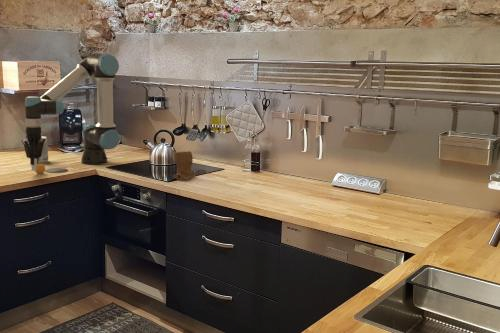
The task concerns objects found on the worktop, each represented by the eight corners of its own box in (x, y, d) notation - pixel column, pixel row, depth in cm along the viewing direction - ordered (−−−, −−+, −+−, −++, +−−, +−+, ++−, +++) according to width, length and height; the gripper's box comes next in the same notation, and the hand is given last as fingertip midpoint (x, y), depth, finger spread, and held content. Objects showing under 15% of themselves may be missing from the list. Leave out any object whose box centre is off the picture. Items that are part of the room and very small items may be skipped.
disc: (66, 167, 298) (66, 167, 298) (69, 172, 288) (69, 171, 288) (43, 169, 293) (43, 168, 293) (46, 173, 282) (46, 173, 282)
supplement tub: (45, 159, 318) (44, 135, 315) (50, 162, 311) (49, 137, 308) (28, 161, 312) (27, 136, 309) (33, 163, 305) (32, 138, 302)
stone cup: (181, 174, 295) (181, 148, 292) (199, 177, 290) (200, 150, 287) (166, 179, 281) (167, 152, 278) (186, 182, 277) (186, 154, 274)
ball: (39, 177, 282) (46, 169, 285) (41, 174, 277) (48, 167, 280) (30, 170, 280) (37, 163, 283) (33, 167, 276) (40, 160, 279)
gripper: (27, 128, 266) (28, 173, 270) (48, 126, 277) (49, 169, 281) (17, 126, 269) (19, 171, 274) (39, 124, 280) (40, 167, 285)
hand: (34, 170), depth 277 cm, fingers closed
